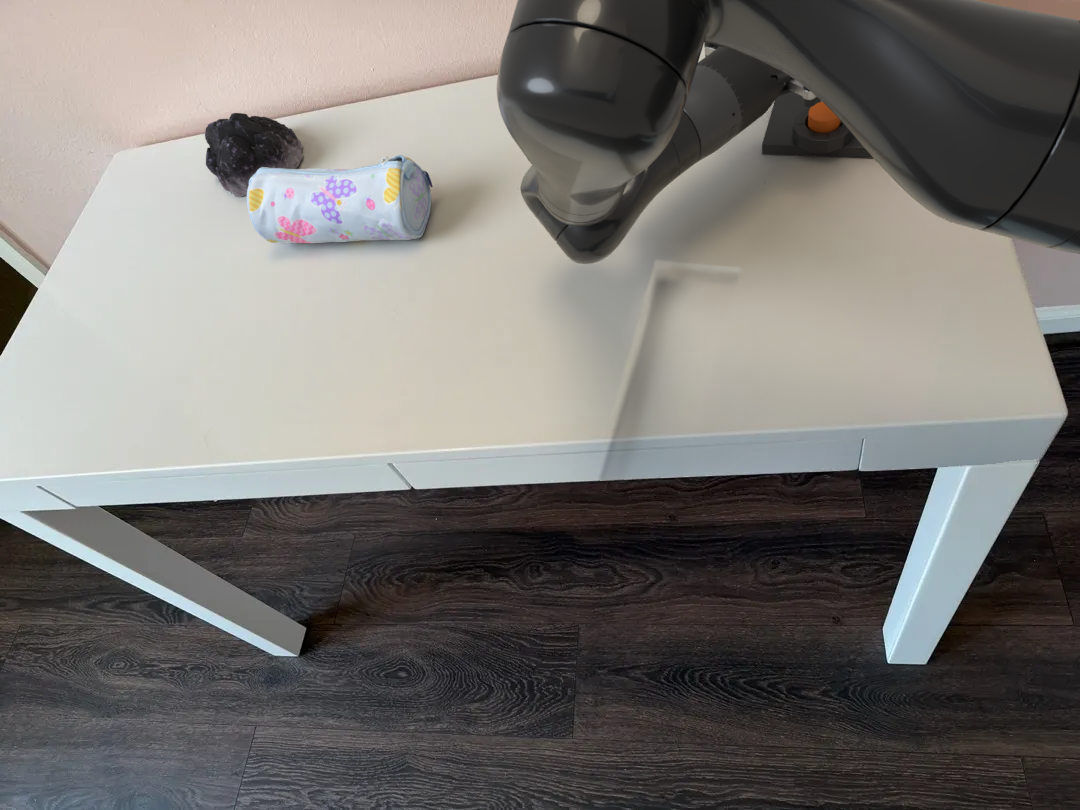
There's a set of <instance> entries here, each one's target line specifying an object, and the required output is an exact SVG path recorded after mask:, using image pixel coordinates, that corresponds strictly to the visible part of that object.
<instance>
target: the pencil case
mask: <svg viewBox="0 0 1080 810" xmlns="http://www.w3.org/2000/svg"><path fill="white" fill-rule="evenodd" d="M433 187H434V186H433V183H432V180H431V178H430V175H429V172H427V171H426V170H424V169H422V167H421V166H420V165H419V164H418V163H416V162H415V161H414V160H413V159H412V158H409V156H405V155H403V154H397V155H394V156H393V157H391V158H389V157H388V156H383V157H381V158H380V159H379V160H378V163H377V164H372V165H365V166H360V167H356V168H352V169H346V168H345V169H343V168H342V169H341V168H296V169H283V168H267V167H262V168H259V169H258V170H257V172H256V173H255V174H254V175H253V176H252V177H251V178H250V180H249V186H248V190H247V195H246V206H247V211H248V216H249V219H250V221H251V225H252V226H253V228H254V230H255V231H256V233H257V234H258V235H259V236H260V237H261V238H263V240H266V241H267V242H268V243H273V244H287V243H288V244H319V243H320V244H321V243H322V244H323V243H347V242H359V241H408V240H409V241H411V240H415V239H420V238H422V237H423V235H424V233H425V230H426V228H427V224H428V222H429V219H430V215H431V214H430V213H431V207H432V192H431V191H432V190H431V188H433Z"/></svg>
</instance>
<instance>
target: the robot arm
mask: <svg viewBox="0 0 1080 810" xmlns="http://www.w3.org/2000/svg"><path fill="white" fill-rule="evenodd" d="M703 47H704V49H703ZM703 50H704V57H703V58H702V59H701V60H700V57H701V54H702V51H703ZM498 65H499V66H498V71H497V77H496V98H497V103H498V104H497V105H498V109H499V112H500V116H501V118H502V120H503V123H504V126H505V127H506V129H507V131H508V134H510V136H511V138H512V139H513V141H514V142H515V144H516V145H517V147H518V148H519V149H520V151H521V152H522V153H523V154H524V156H525V158H526V159H527V161H528V162H529V163H530V164H531V166H530V167H529V168H528V169H527V171H526V172H525V173H524V175H523V178H522V180H521V183H520V195H521V197H522V199H523V201H524V203H525V206H527V208H528V209H529V211H530V212H531V213H532V214H533V216H534V217H535V218H536V219H537V220H538V221H539V223H540V225H542V227H543V228H544V229H545V230H546V232H547V233H548V235H549V236H550V237H551V238H552V239H553V240H554V242H555V243H556V244H557V246H558V247H559V248H560V249H561V251H562V252H563V253H564V254H565V256H566V257H567V258H568V259H569V260H570V261H572V262H574V263H575V264H580V265H592V264H595V263H599V262H601V261H603V260H605V259H606V258H608V257H610V256H611V255H612V254H613V253H614V252H615V251H616V250H617V249H618V247H620V245H621V243H622V242H623V241H624V240H625V238H626V237H627V235H628V234H629V232H630V231H631V229H632V228H633V226H634V225H635V223H636V222H637V221H638V220H639V218H640V216H641V215H642V213H643V212H644V211H645V210H646V208H647V207H649V205H650V203H652V201H653V200H654V199H655V198H656V197H657V195H659V194H660V193H661V192H662V191H663V190H664V189H665V188H666V187H667V186H669V185H670V184H671V183H672V182H674V181H675V180H676V179H677V178H678V177H680V176H681V175H682V174H683V173H685V172H686V171H688V170H689V169H690V168H691V167H693V166H694V165H695V164H697V163H698V162H700V161H702V160H704V159H705V158H707V157H708V156H710V155H712V154H714V153H716V152H717V151H718V150H719V149H721V148H722V147H724V145H726V144H727V143H728V142H730V141H731V140H732V139H734V138H735V137H737V136H738V135H739V134H741V132H743V131H744V130H745V129H747V128H748V127H750V125H752V124H754V123H755V122H756V121H757V120H758V119H760V118H761V117H763V116H764V115H765V114H766V113H767V112H768V111H769V109H770V108H771V107H772V106H773V105H772V104H774V101H775V99H776V98H777V97H779V96H781V95H783V94H786V93H789V92H791V91H793V92H795V93H797V94H799V95H801V96H803V105H804V106H805V107H812V106H814V105H815V104H817V103H818V102H820V101H822V102H823V103H824V104H825V105H826V106H827V107H828V108H829V109H830V110H831V111H832V112H833V113H834V114H835V115H836V116H837V117H838V118H839V119H840V120H841V121H842V123H843V124H844V125H845V126H846V127H847V128H848V129H849V131H850V132H851V133H852V134H853V135H854V136H855V137H856V139H857V140H858V141H859V142H860V143H861V144H862V146H863V147H864V148H865V149H866V150H867V151H868V152H869V153H870V155H871V156H872V157H873V158H872V159H873V160H874V161H876V163H877V165H879V166H880V167H881V168H882V169H883V170H884V172H886V173H887V174H888V176H890V177H891V178H892V179H893V181H894V182H895V183H897V184H898V186H899V187H900V188H901V189H902V190H903V191H904V192H905V193H907V194H908V195H909V196H910V197H911V198H912V199H913V200H914V201H915V202H916V203H918V204H919V205H920V206H922V207H923V208H924V209H926V211H928V212H930V213H932V214H933V215H935V216H936V217H938V218H940V219H942V220H944V221H947V222H949V223H952V224H955V225H959V226H962V227H966V228H969V229H973V230H978V231H981V232H986V233H989V234H994V235H997V236H1002V237H1006V238H1009V239H1013V240H1016V241H1020V242H1025V243H1028V244H1033V245H1036V246H1040V247H1042V248H1043V247H1044V248H1047V249H1051V250H1056V251H1060V252H1066V253H1070V254H1078V255H1080V19H1079V20H1078V19H1077V18H1076V19H1075V18H1072V17H1066V16H1060V15H1054V14H1048V13H1043V12H1036V11H1031V10H1026V9H1020V8H1014V7H1010V6H1004V5H1000V4H994V3H991V2H985V1H981V0H517V1H516V5H515V9H514V12H513V15H512V18H511V21H510V25H509V29H508V32H507V35H506V39H505V42H504V45H503V48H502V52H501V56H500V60H499V64H498Z"/></svg>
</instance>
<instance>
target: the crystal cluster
mask: <svg viewBox="0 0 1080 810" xmlns="http://www.w3.org/2000/svg"><path fill="white" fill-rule="evenodd" d="M204 139H205V142H206V143H207V144H208V146H209V147H207V148H206V154H205V166H206V168H207V169H208V170H209V172H210V173H211V174H213V175H215V177H216V178H217V180H218V181H219V183H220V184H221V186H222V187H223V189H224V190H225V191H227V192H230V193H231V194H232V195H233V196H235V197H238V198H239V197H240V198H243V196H247V190H248V186H249V180H250V178H251V177H252V176H253V175H254V174H255V173H256V172H257V170H258V169H259V168H262V167H267V168H283V169H298V167H299V166H300V165H301V161H302V160H303V159H304V154H303V152H302V151H303V143H302V142H301V140H300V139H299V137H297V135H296V133H295V132H294V130H293V129H292V128H290V127H288V126H286V124H284V123H281V122H279V121H278V120H276V119H273V118H269V117H266V116H258V115H251V116H249V115H248V114H247V113H242V112H233V113H230V116H229V118H219V119H217V120H215V121H212V122H210V123H208V124H207V127H205V132H204Z"/></svg>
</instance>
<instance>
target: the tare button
mask: <svg viewBox="0 0 1080 810" xmlns="http://www.w3.org/2000/svg"><path fill="white" fill-rule="evenodd" d="M840 122H841V120H840V119H839V118H838V117H837V116H836V115H835V114H834V113H833V112H832V111H831V110H830V109H829V108H828V107H827V106H826V105H825V104H824V103H823V102H819V103H817V104H815V105H814V106H812V107H811V108H810V110H809V114H808V127H809V129H810V130H811V131H813V132H815V133H829V132H832V131H835V130H836V129H837V128H838V127H839V126H840Z"/></svg>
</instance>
